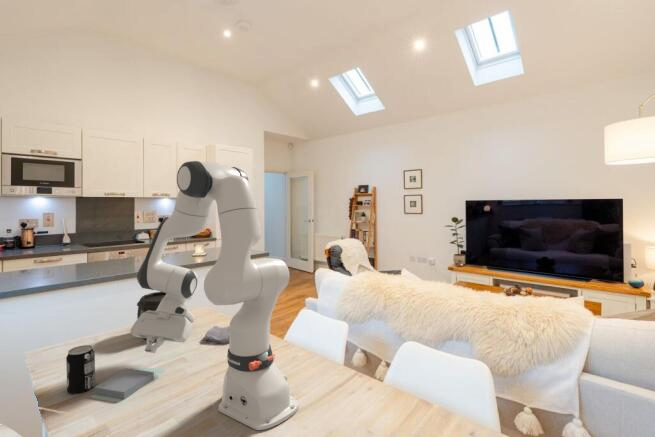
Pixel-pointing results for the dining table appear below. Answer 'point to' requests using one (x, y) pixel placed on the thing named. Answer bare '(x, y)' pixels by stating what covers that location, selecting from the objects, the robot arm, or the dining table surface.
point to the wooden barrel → (149, 303)
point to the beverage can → (80, 369)
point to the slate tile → (124, 383)
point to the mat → (156, 374)
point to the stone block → (218, 334)
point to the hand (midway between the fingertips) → (149, 352)
